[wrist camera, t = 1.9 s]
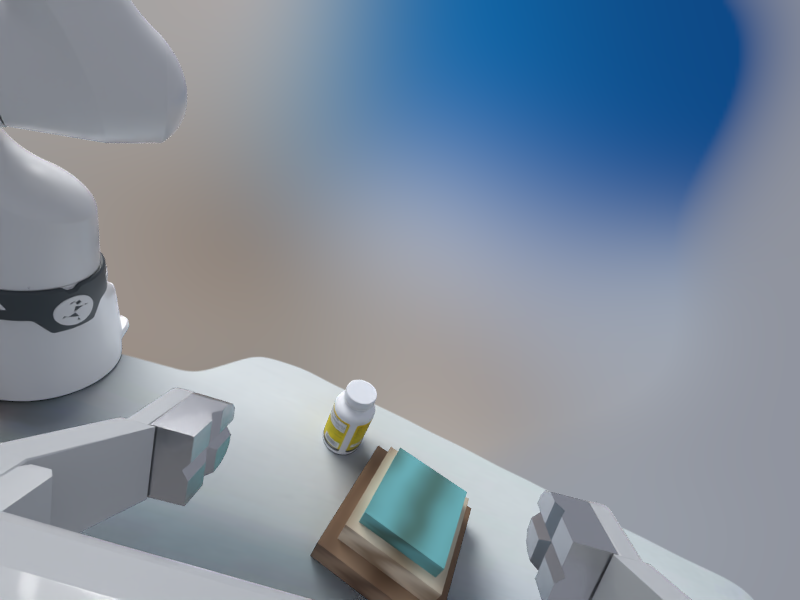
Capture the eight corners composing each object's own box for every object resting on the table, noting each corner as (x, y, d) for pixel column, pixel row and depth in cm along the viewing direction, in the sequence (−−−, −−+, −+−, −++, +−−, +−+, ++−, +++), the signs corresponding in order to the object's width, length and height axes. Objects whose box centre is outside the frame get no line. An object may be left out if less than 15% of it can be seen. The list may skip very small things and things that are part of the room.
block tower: (310, 555, 39) (330, 518, 35) (371, 458, 51) (391, 422, 47) (424, 643, 37) (460, 614, 33) (460, 519, 48) (490, 487, 44)
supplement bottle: (360, 425, 55) (383, 380, 50) (358, 459, 50) (382, 413, 45) (324, 417, 53) (343, 371, 48) (318, 451, 49) (339, 403, 44)
